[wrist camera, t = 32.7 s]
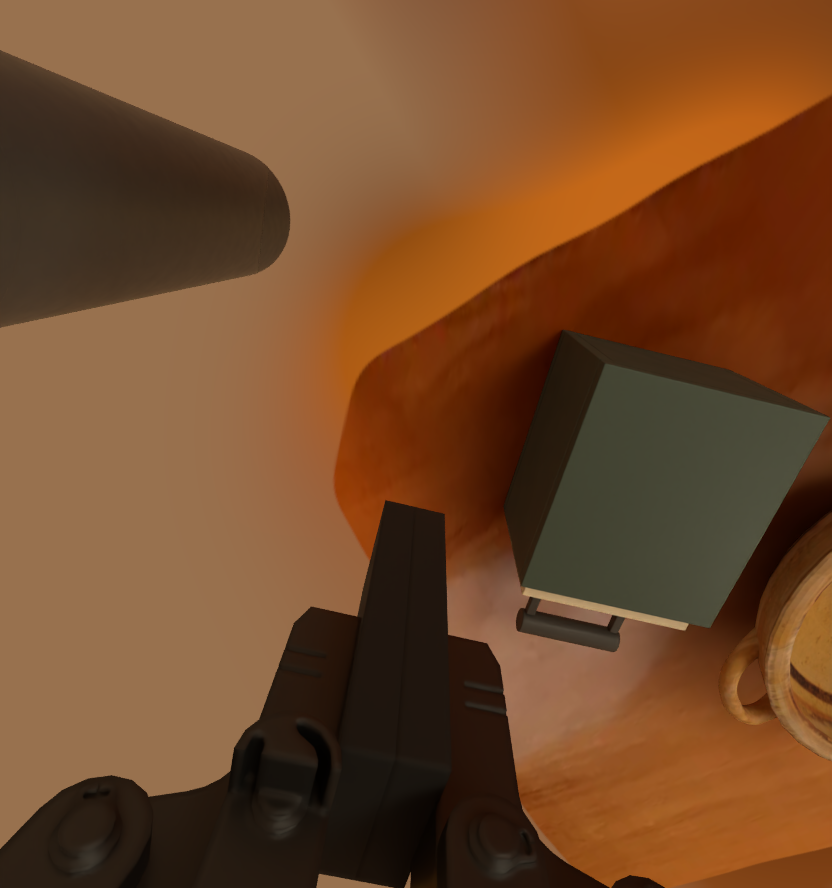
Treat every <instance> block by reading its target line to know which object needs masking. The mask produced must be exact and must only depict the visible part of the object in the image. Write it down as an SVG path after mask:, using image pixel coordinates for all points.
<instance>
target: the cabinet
mask: <svg viewBox="0 0 832 888" xmlns="http://www.w3.org/2000/svg"><path fill="white" fill-rule="evenodd" d="M829 419H830V417H828V416H826V415H824V414H822V413H820V412H818V411H816V410H814V409H811V408H809V407H807V406H805V405H803V404H801V403H799V402H797V401H795V400H792V399H790V398H788V397H786V396H784V395H782V394H780V393H778V392H775V391H773V390H771V389H769V388H767V387H765V386H763V385H761V384H759V383H756V382H754V381H752V380H750V379H748V378H746V377H744V376H742V375H740V374H737V373H735V372H733V371H731V370H728V369H723V368H719V367H715V366H711V365H707V364H703V363H699V362H695V361H691V360H686V359H682V358H678V357H674V356H670V355H666V354H662V353H658V352H654V351H649V350H645V349H641V348H637V347H633V346H629V345H625V344H621V343H617V342H612V341H608V340H604V339H600V338H596V337H592V336H588V335H584V334H579V333H575V332H571V331H567V330H563V331H562V333H561V336H560V339H559V342H558V345H557V348H556V351H555V354H554V357H553V360H552V363H551V366H550V369H549V372H548V375H547V378H546V381H545V384H544V387H543V390H542V393H541V396H540V399H539V402H538V405H537V408H536V411H535V414H534V417H533V420H532V423H531V426H530V429H529V431H528V434H527V437H526V440H525V443H524V446H523V449H522V452H521V455H520V458H519V461H518V464H517V467H516V470H515V473H514V476H513V479H512V482H511V485H510V488H509V491H508V494H507V497H506V500H505V503H504V512H505V516H506V521H507V525H508V530H509V535H510V539H511V544H512V548H513V553H514V557H515V562H516V566H517V571H518V575H519V580H520V584H521V586H522V587H526V588H530V589H535V590H539V591H544V592H548V593H553V594H557V595H562V596H566V597H571V598H575V599H580V600H584V601H589V602H593V603H598V604H603V605H607V606H612V607H616V608H621V609H625V610H630V611H634V612H639V613H643V614H648V615H652V616H657V617H661V618H666V619H670V620H675V621H679V622H684V623H688V624H693V625H697V626H702V627H706V628H710V627H711V625H712V623H713V622H714V620H715V618H716V616H717V615H718V613H719V611H720V610H721V608H722V606H723V604H724V603H725V601H726V599H727V597H728V596H729V594H730V592H731V590H732V589H733V587H734V585H735V583H736V582H737V580H738V578H739V576H740V575H741V573H742V571H743V569H744V568H745V566H746V564H747V562H748V561H749V559H750V557H751V555H752V554H753V552H754V550H755V548H756V547H757V545H758V543H759V541H760V540H761V538H762V536H763V534H764V533H765V531H766V529H767V527H768V526H769V524H770V522H771V520H772V519H773V517H774V515H775V513H776V512H777V510H778V508H779V506H780V505H781V503H782V501H783V500H784V498H785V496H786V494H787V493H788V491H789V489H790V487H791V486H792V484H793V482H794V480H795V479H796V477H797V475H798V473H799V472H800V470H801V468H802V466H803V465H804V463H805V461H806V459H807V458H808V456H809V454H810V452H811V451H812V449H813V447H814V445H815V444H816V442H817V440H818V438H819V437H820V435H821V433H822V431H823V430H824V428H825V426H826V424H827V423H828V421H829Z"/></svg>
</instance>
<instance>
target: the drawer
mask: <svg viewBox="0 0 832 888" xmlns="http://www.w3.org/2000/svg"><path fill="white" fill-rule="evenodd" d="M508 531H509V530H508ZM509 536H510V535H509ZM510 540H511V539H510ZM511 545H512V544H511ZM512 549H513V548H512ZM513 554H514V553H513ZM514 558H515V557H514ZM515 563H516V562H515ZM516 568H517V566H516ZM517 572H518V571H517ZM518 577H519V575H518ZM519 581H520V580H519ZM520 586H521V584H520ZM521 590H522V595H525V596H530V598H529V600H528V603H527V605H526V608H525V609H524V608H520V610H519V611H518V614H517V618H516V628H517V631H519V632H523V633H528V634H532V635H537V636H542V637H546V638H551V639H555V640H560V641H564V642H569V643H574V644H578V645H583V646H587V647H592V648H597V649H601V650H606V651H610V652H615V651H617V649H618V647H619V643H620V635H619V632H618V631H619V629H620V627H621V625H622V623H623V621H624V619H625V618H629V619H634V620H638V621H643V622H647V623H652V624H656V625H661V626H665V627H670V628H674V629H679V630H683V631H685V630H686V628H687V626H688V623H684V622H679V621H675V620H670V619H666V618H661V617H657V616H652V615H648V614H643V613H639V612H634V611H630V610H625V609H621V608H616V607H612V606H607V605H603V604H598V603H593V602H589V601H584V600H580V599H575V598H571V597H566V596H562V595H557V594H553V593H548V592H544V591H539V590H535V589H530V588H526V587H522V586H521ZM541 599H543V600H548V601H552V602H557V603H561V604H566V605H570V606H575V607H579V608H584V609H589V610H593V611H598V612H602V613H607V614H611V615H612V617H611V620H610V622H609V624H608V626H607V627H606V626H602V625H597V624H592V623H588V622H583V621H579V620H574V619H570V618H565V617H561V616H556V615H552V614H547V613H543V612H538V611H536V610H537V607H538V605H539V602H540V600H541Z"/></svg>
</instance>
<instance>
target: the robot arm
mask: <svg viewBox="0 0 832 888" xmlns="http://www.w3.org/2000/svg"><path fill="white" fill-rule="evenodd" d="M503 691H504V689H503V682H502V675H501V669H500V665H499V663H498V662H497V660H496V658H495V656H494V655H493V653H492V651H491V649H490V648H489V646H488V644H487V643H483V642H478V641H474V640H469V639H464V638H460V637H455V636H451V635H448V621H447V585H446V549H445V514H442V513H438V512H434V511H430V510H425V509H421V508H417V507H412V506H408V505H404V504H400V503H395V502H391V501H387V500H385V504H384V508H383V512H382V516H381V520H380V524H379V528H378V532H377V536H376V540H375V544H374V548H373V552H372V556H371V560H370V564H369V567H368V572H367V575H366V579H365V583H364V588H363V592H362V597H361V602H360V607H359V612H358V616H357V617H356V616H352V615H347V614H343V613H338V612H334V611H329V610H325V609H320V608H315V607H310V608H309V609H308V610H307V611H306V612H305V613H304V614H303V615H302V616H301V617H300V618H299V619H298V620H297V621H296V622H295V623H294V625H293V627H292V630H291V633H290V636H289V639H288V641H287V644H286V648H285V650H284V652H283V655H282V658H281V661H280V663H279V667H278V669H277V672H276V675H275V677H274V680H273V683H272V686H271V689H270V691H269V694H268V697H267V700H266V702H265V705H264V708H263V711H262V713H261V716H260V719H259V720H258V721H257V722H255V723H254V724H253V725H251V726H250V727H249V728H247V729H246V730H245V732H244V733H243V735H242V736H241V738H240V740H239V741H238V743H237V744H236V746H235V747H234V753H233V759H232V765H231V771H230V772H229V773H227V774H226V775H225V776H224V777H222V778H221V779H219V780H217V781H215V782H213V783H211V784H209V785H208V786H205V787H202V788H198V789H194V790H190V791H186V792H179V793H172V794H165V795H158V796H152V797H148V795H147V793H146V792H145V791H144V790H143V789H142V788H141V787H140V786H138V785H137V784H136V783H135V782H134V781H132V780H129V779H125V778H121V777H117V776H112V775H111V776H105V777H97V778H90V779H87V780H84V781H81V782H79V783H77V784H75V785H73V786H70V787H68V788H66V789H64V790H62V791H61V792H59V793H58V794H57V795H56V796H54V797H53V798H52V799H51V800H49V801H48V802H47V803H46V804H44V805H43V806H42V807H41V808H39V810H38V811H37V812H36V813H35V814H34V815H33V816H32V817H31V818H30V819H29V820H28V821H27V822H26V823H25V824H24V825H23V826H22V827H21V828H20V829H19V830H18V831H17V832H16V833H15V834H14V835H13V836H12V837H11V839H10V840H9V841H8V842H7V843H6V844H5V845H4V846H3V847H2V848H1V849H0V888H316V886H317V881H318V875H319V874H324V875H329V876H335V877H340V878H345V879H351V880H356V881H361V882H367V883H372V884H377V885H382V886H388V887H393V888H404V887H405V885H406V882H407V880H408V877H409V875H410V872H411V883H410V888H609V887H607V886H606V885H604V884H602V883H600V882H599V881H597V880H595V879H594V878H592V877H590V876H588V875H587V874H585V873H583V872H581V871H580V870H578V869H576V868H574V867H573V866H571V865H569V864H568V863H566V862H565V861H563V860H562V859H560V858H559V857H558V856H556V855H555V854H553V853H552V852H551V851H550V850H549V849H548V848H547V847H546V846H545V845H544V844H543V843H542V842H541V840H540V839H539V837H538V834H537V831H536V830H535V828H534V827H533V825H532V824H531V822H530V821H529V819H528V818H527V816H526V815H525V813H524V812H523V809H522V805H521V802H520V798H519V792H518V785H517V779H516V772H515V765H514V758H513V751H512V744H511V737H510V730H509V724H508V717H507V716H506V711H507V710H506V703H505V696H504V695H503ZM612 888H665V887H663V886H661V885H660V884H658V883H656V882H654V881H652V880H651V879H649V878H644V877H638V876H631V875H629V876H627V877H625V878H623V879H620V880H618V881H616V882H615V883H614V885H613V886H612Z"/></svg>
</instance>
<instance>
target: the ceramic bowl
mask: <svg viewBox="0 0 832 888" xmlns="http://www.w3.org/2000/svg"><path fill="white" fill-rule="evenodd" d="M757 658H758V662H759V665H760V669H761V673H762V676H763V679H764V683H765V686H766V690H767V693H766V694H765V695H764V696H763V697H762V698H761V699H759V700H758V701H756V702H755V703H752V704H749V705H741V703H740V701H739V698H738V695H737V686H738V682H739V679H740V677H741V675H742V673H743V672H744V670H745V669H746V668H747V667H748V665H749V664H751V663H752V662H753V661H754V660H755V659H757ZM719 692H720V696H721V700H722V703H723V706H724V707H725V708H726V709H727V711H728V712H729V713H730V714H731V715H732V716H733V717H734V718H736V719H737V720H739V721H740V722H742V723H745V724H750V725H755V724H761V723H764V722H767V721H769V720H772V719H774V718H776V717H778V719H779V721H780V723H781V724H782V726H783V727H784V728H785V729H786V730H787V731H788V732H789V733H790V734H791V735H792V736H793V737H794V738H795V739H796V740H797V741H798V742H799V743H800V744H802V745H803V746H805V747H806V748H808V749H809V750H811V751H812V752H814V753H815V754H817V755H818V756H820V757H823V758H825V759H827V760H830V761H832V511H830V512H829V513H827V514H826V515H824V516H823V517H822V518H821V519H820V520H818V521H817V522H816V523H815V524H813V525H812V526H811V527H810V528H809V529H807V530H806V531H805V532H804V533H803V534H802V535H801V536H800V537H799V538H798V540H797V541H796V542H795V543H794V544H793V545H792V546H791V547H790V548H789V549H788V550H787V552H786V553H785V555H784V556H783V558H782V559H781V561H780V562H779V564H778V565H777V567H776V568H775V570H774V571H773V573H772V574H771V576H770V578H769V580H768V583H767V585H766V587H765V590H764V592H763V594H762V596H761V599H760V604H759V609H758V613H757V618H756V623H755V627H754V628H753V629H752V630H751V631H750V632H749V633H748V634H747V635H746V636H745V637H744V638H743V639H742V640H741V642H740V643H739V644H738V645H737V646H736V647H735V648H734V649H733V651H732V652H731V653H730V655H729V656H728V658H727V659H726V661H725V663H724V664H723V666H722V669H721V672H720V675H719Z"/></svg>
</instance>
